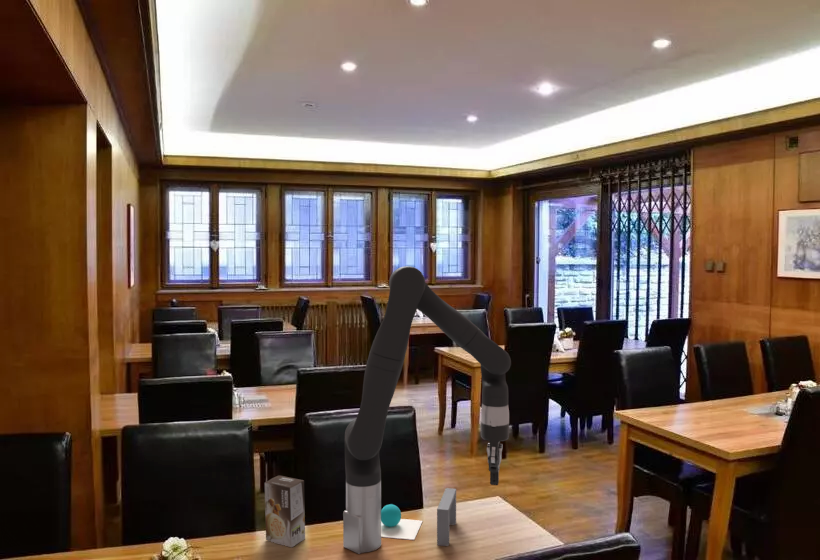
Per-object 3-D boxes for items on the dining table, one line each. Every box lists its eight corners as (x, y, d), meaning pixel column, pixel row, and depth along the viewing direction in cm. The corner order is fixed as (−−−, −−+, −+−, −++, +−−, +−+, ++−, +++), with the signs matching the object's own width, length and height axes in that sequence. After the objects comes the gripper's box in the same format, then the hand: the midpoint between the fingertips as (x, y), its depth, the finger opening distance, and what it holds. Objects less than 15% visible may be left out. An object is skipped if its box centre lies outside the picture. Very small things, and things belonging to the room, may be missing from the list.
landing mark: (422, 521, 179) (422, 520, 179) (414, 540, 167) (414, 539, 167) (382, 517, 181) (382, 517, 181) (371, 536, 169) (371, 535, 169)
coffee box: (306, 538, 168) (305, 480, 168) (291, 548, 163) (290, 487, 162) (279, 531, 173) (279, 474, 172) (264, 540, 167) (263, 482, 166)
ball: (375, 518, 172) (393, 531, 171) (387, 499, 174) (405, 512, 173) (376, 518, 178) (393, 531, 177) (388, 500, 180) (405, 512, 179)
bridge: (456, 522, 178) (456, 488, 178) (448, 546, 163) (448, 509, 163) (445, 521, 179) (445, 488, 178) (437, 545, 164) (437, 509, 164)
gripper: (483, 413, 174) (482, 474, 175) (478, 426, 161) (477, 492, 162) (510, 415, 173) (509, 476, 173) (507, 428, 160) (507, 494, 160)
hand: (494, 484), depth 168 cm, fingers closed
